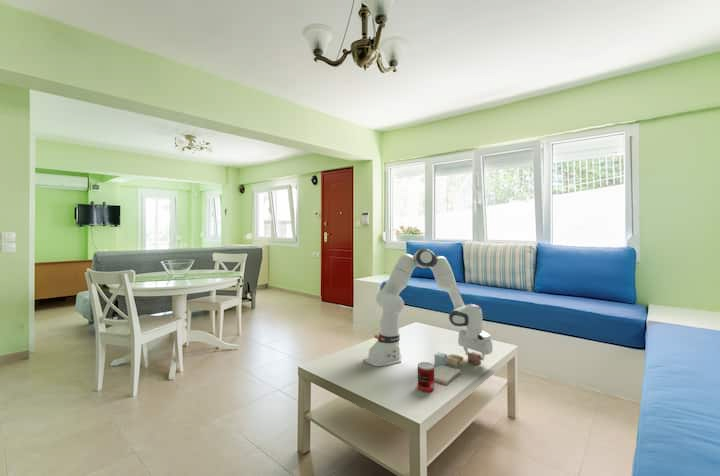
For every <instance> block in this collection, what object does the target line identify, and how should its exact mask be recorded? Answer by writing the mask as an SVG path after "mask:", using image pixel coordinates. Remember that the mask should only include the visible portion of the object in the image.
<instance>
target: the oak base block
mask: <svg viewBox="0 0 720 476" xmlns="http://www.w3.org/2000/svg"><path fill="white" fill-rule="evenodd" d="M461 364H462V365H463V364H464V356H461V355H458V354H455V353H450V354H447V365H449V366H451V367H454V366H455V368H457V367H459V365H460V366H462V365H461Z"/></svg>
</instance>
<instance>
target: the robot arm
mask: <svg viewBox="0 0 720 476" xmlns="http://www.w3.org/2000/svg"><path fill="white" fill-rule="evenodd" d="M415 268H419V269H426V268H429V269H430V270H431V272H432V273H433V277H434V280H435V282H436V284H437V286H438V287H439V288H440V290H441V289H442V290H444V291H445V292H446V293H448V295H449V297H450V300H451V302H452V305H453V308H454V309H453V310H452V311H451V312H450V313H449V314H448V320H449V322H450V323H451V325H452V326H455V327H466V328H465V330H463V329H460V330H459V331H458V339H457V340H458V341H457V342H458V343H457V344H458V345H459V346H461V347H463V351H464V353H465V355H466V356H468V354H469V353H471V352H470V351H469V350H468V349H470V350H472V351H474V352H477V353H481V357H480V360H481V362H482V361H484V360H485V356H486V355H491V354H492V353H493V343H492V340H491V339H492V335H491V334H489V333H488V332H486V331H485V330H484V329H483V321H484V320H483V310H482V308H481V306H480V305H477V304H474V303H468V304H466V303H465V302H464V298H463V297H462V294H461V292H460V289H459V287H458V284H457V281H456V278H455V275H454V272H453V270H452V266H451V265H450V263H449V260H448V259H447V258H446V257H445V256H443V255H436V254H435V253H434V252H433V251H432V250H431V249H429V248H421V249H419V250H417V251H416V252H415V253H414V254H409V253H402V254H401V255H400V256H399V258H398V260H397V262H396V263H395V265H394V266H393V269H392V272H391V274H390V276H389V278H388V280H387V281H386V283H385V284H384V286H383V287H381V290H380V291H378V292H377V294H376V296H375V301H376V303H377V305H378V306H379V307H380V308H382V316H381V317H380V321H379V334H378V335H377V334H374V339H376V340H377V341H376V342H375V343H374V344H373V345H372V346H370V348H369V349H368V356H365V357H364V361H365V362H366V363H367V364H369V365H372V366H374V367H378V368H379V367H383V366H389V365H393V364H394V365H395V364H400V363H401V362H402V353H401V348H400V331H399V330H400V327H399V326H400V318H401V312H402V311H403V310H404V307H405V301H404V300H403V298H402V297H401V296H400V294H401V292H402V291H403V290H404V289H405V288H407V286H408V284H409V281H410V279H411V277H412V274H413V271H414V270H415Z"/></svg>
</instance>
